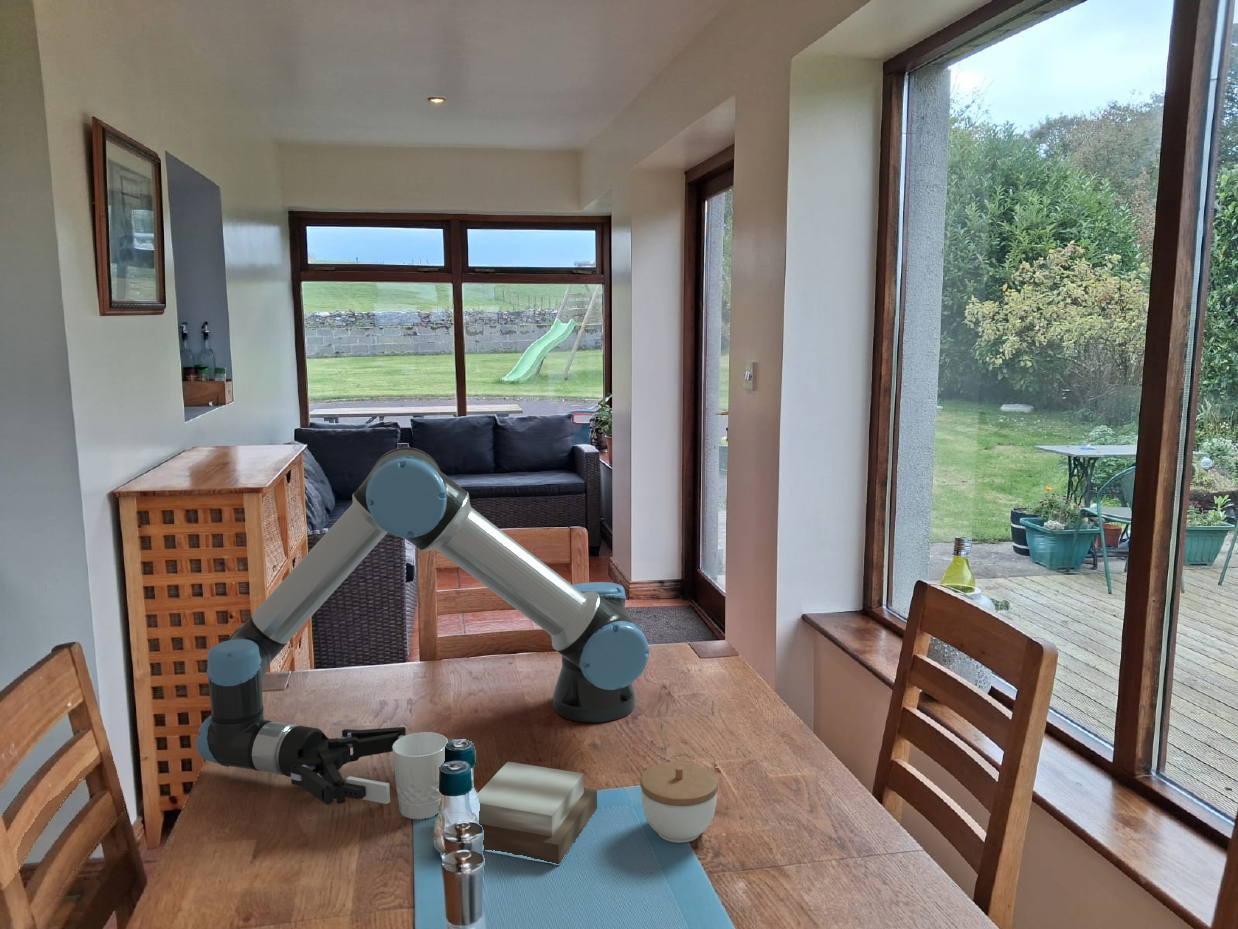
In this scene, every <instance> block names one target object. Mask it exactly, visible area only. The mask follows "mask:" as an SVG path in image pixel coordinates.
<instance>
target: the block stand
mask: <svg viewBox="0 0 1238 929" xmlns="http://www.w3.org/2000/svg"><path fill="white" fill-rule="evenodd" d="M584 776H585V773H583V772H575V771H569V770H564V769H557V768H550V767H545V766H539V765H538V766H537V765H532V764H525V763H519V762H513V761H507V762H506V763H505V764H504V765H503V766H502V767H501V768H500V769H499V770H498V771H497V772H496V773H495V774H494V776H492V778H490V779H489V781H488V782H487V783H486V784H485V785H484V786H483V787H482V788H481V789H480V791H479V792H477V794H478V796H479V803H480V811H479V824H480V825H482V827H483V830H484V840H483V845H484V851H485V850H492V851H493V850H495V851H501V852H507V853H512V854H514V855H523V856H527V857H531V858H534V859H540V860H544V861H547V862H552V863H556V864H559V863H560V862H561V860H562V859H563V857H564V855H565V854H566V853H567V851H568V850H569V849H570V847H571V846H572V844H573V843H574V841H575V840H576V838H577V839H579V837H580V835H581V834H582V832H583V831H584V829H585V828H586V826H587V825H586V824H588V823H589V822H590V820H591V819H590V818H592V817H593V816H592V815H594V814H595V813H596V811H597V810H598V789H597V788H589V787H585V785H584V778H585V777H584ZM596 809H597V810H596ZM594 812H595V813H594ZM589 819H590V820H589ZM588 821H589V822H588ZM587 822H588V823H587ZM585 825H586V826H585ZM584 827H585V828H584ZM583 828H584V829H583ZM582 830H583V831H582ZM580 833H581V834H580ZM579 834H580V835H579ZM578 836H579V837H578ZM576 841H577V840H576ZM576 841H575V842H576ZM574 844H575V843H574ZM574 844H573V845H574ZM572 847H573V846H572ZM572 847H571V848H572ZM570 850H571V849H570ZM570 850H569V851H570ZM567 854H568V853H567ZM563 860H564V859H563ZM561 863H562V862H561Z"/></svg>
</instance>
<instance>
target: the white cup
mask: <svg viewBox="0 0 1238 929" xmlns="http://www.w3.org/2000/svg"><path fill="white" fill-rule="evenodd" d="M447 743H448V744H449V740H448V738H447V737H446V736H445V735H443V734H442V733H441V734H440V733H437V732H433V731H432V732H431V731H422V732H414V733H409V734H406V736H403V737H401V738H399V739H398V740H397V741H395V742H394V744H393V746H392V749H393V751H392V756H393V757H392V758H393V759H392V760H393V767H394V777H395V784H396V785H395V786H396V787H395V788H396V789H395V790H396V794H397V801H398V811H399V812H400V814H401V815H402V817H405V818H407V819H410V820H425V818H426V819H430V818H433V817H436V816H437V815H436V813H437V811H438V807H439V805H440V801H441V796H440V794H439V788H438V787H439V767H440V766H441V765H442V763H444V761H445V746H446V744H447ZM435 815H436V816H435Z"/></svg>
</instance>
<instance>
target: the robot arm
mask: <svg viewBox="0 0 1238 929" xmlns="http://www.w3.org/2000/svg"><path fill="white" fill-rule="evenodd" d="M351 499H352V504H351V505H350V506H349V507H348V508H347V509H346V510H345V511H344V512H343V514H341V516H340V517H339V518H338V519H337V520H336V521H335V522H334V524H333V525H332V526H331V527H330V528H329V529H328V531H327V532H326V533H325V534H324V535H323V536H321V538H320V539H319V540H318V541H317V543H316V544H315V545H314V546H312V548H311V549H310V550H309V551H308V552H307V554H306V555H305V556H304V557H303V558H302V559H301V560H300V561H299V563H298V564H297V565H296V566H295V567H294V568H293V569H292V570H291V571H290V572H289V573H288V575H287V576H285V578H284V579H283V580H282V581H281V582H280V584H278V585H277V587H276V588H275V589H274V590H273V591H272V592H271V594H270V595H269V596H268V597H267V598H266V599H265V600H264V601H263V602H262V603H261V604H260V605H259V607H258V608H257V609H256V610H255V611H254V612H253V614H252V615H251V616H250V617H249V618H248V619H247V621H245V623H243V624H242V625H241V626H239V627H238V628H237V629H236V630H235V631H233V633H232V634H231V636H229V638H228V640H226V641H221V642H219V643H217V644H215V645H213V646H211V648H210V649H209V650H208V652H207V656H206V657H207V667H206V675H207V678H208V689H209V699H210V700H209V702H210V711H211V714H210V715H209V716H207V717H206V718H205V719H204V721H202V723H201V724H200V727H199V728H198V733H199V734H198V737H196V739H195V740H196V741H195V744H196V745H195V746H196V750H197V753H198V754H199V756H200V757H201V758H202V759H203V760H205V761H206V762H211V763H215V764H218V765H220V766H223V767H226V768H227V767H234V768H240V769H247V770H251V771H253V770H254V771H257V772H263V773H268V774H269V773H270V774H274V775H276V776H277V775H280V776H285V777H288V778H289V777H290V779H291V781H290V782H291V785H294V786H298V787H302V788H303V789H304V790H306V791H307V792H308V793H309V794H311V795H312V796H314V798H316V799H318V800H319V801H320V802H322V803H323V804H325V805H328V806H329V805H331V804H333V803H334V800H335V799H336V802H335V803H336V804H338V805H342V804H344V803H345V802H346V798H350V799H355V800H363V801H368V802H369V801H370V802H375V803H381V804H385V805H387V804H389V803H390V802H391V794H390V793H391V792H390V790H391V789H390V782H386V781H385V782H384V781H378V780H372V779H368V778H367V779H366V778H362V777H356V776H350V775H349V776H348V777H346V779H344V778H343V776H342V774H341V773H340V771H339V770H340V769H342V767H343V766H344V765H346V764H348V763H351V762H357V761H359V759H360V758H362V757H368V756H374V755H380V754H386V753H390V752H392V753H393V749H392V746H393V744H394V742H395V741H397V740H398V739H399V738H401V737H403V736H406V735H407V734H406V732H407V731H406V727H405V726H398V727H384V728H369V729H368V728H367V729H353V728H352V729H351V728H350V729H349V728H345V729H342V731H341V737H335V738H329V737H327V735H326V734H325V733H324V732H323V731H322V729H320V728H319V727H318V728H317V727H313V726H306V725H297V724H293V723H286V722H279V721H278V722H277V721H272V720H269V719H265V717H264V716H265V714H264V701H263V700H264V699H263V680H264V678H265V676H266V673H267V671H268V669H269V666H270V664H271V663H272V662H273V660H274V659H276V657H277V656H278V655H279V654H280V652H281V651H282V650H283V649H284V648H285V647H286V645H287V644H288V643H289V642H290V640H291V639H293V637H294V636H295V635H296V634H297V633H298V632H299V631H300V630H301V628H302V627H303V626H304V625H305V624H306V623H307V622H308V621H309V620H310V619H311V617H313V615H314V614H315V613H316V612H317V611H318V610H319V609H320V608H321V606H322V605H323V604H324V603H325V602H326V601H327V600H328V599H329V598H330V596H332V595H333V593H334V592H335V591H336V590H337V589H338V588H339V587H340V585H341V584H343V582H344V581H345V580H346V579H347V578H348V577H349V576H350V575H351V574H352V572H353V571H355V569H356V568H357V567H358V565H359V564H361V563H362V561H363V560H364V559H365V558H366V557H367V556H368V555H369V554H370V553H371V551H372V550H373V549H374V548H375V547H376V546H377V545H378V544H379V542H381V540H382V539H383V538H385V536H386V535H387V534H391V535H393V536H395V537H399V538H404V539H405V540H407V541H408V542H409V543H410V544H411V545H413V546H414V547H416V548H418V549H419V550H420V551H422V552H430V551H438V552H439V553H440V554H441V555H443V556H445V557H446V558H447V559H449V560H450V561H452V563H454V564H455V565H456V566H458V567H459V568H460V569H462V570H463V571H465V573H467V574H469V575H470V576H471V577H472V578H474V579H475V580H476V581H477V582H480V584H482V585H483V586H484V587H486V588H488V589H489V590H490V591H491V592H493V593H494V594H495V595H497V596H498V597H499V598H501V599H502V600H503V601H505V602H506V603H507V604H509V605H510V606H511V607H513V608H514V609H516V610H517V611H518V612H520V613H521V614H522V615H523V616H525V617H526V618H527V619H529V620H530V621H532V622H533V623H534V624H536V625H537V626H538V627H540V628H541V629H542V630H543V631H545V632H546V633H547V634H549V635H550V636H551V645H552V646H551V647H552V648H553V649H554V650H555V651H556V652H557V653H559V654H560V655H561V669H560V672H559V675H558V677H557V678H558V679H557V680H556V685H555V687H554V691H553V695H552V707H553V710H554V712H555V713H556V714H558V715H559V716H561V717H563V718H565V719H568V720H571V721H575V722H581V723H605V722H609V721H611V722H612V721H615V720H619V719H622V718H623V717H626V716H627V715H630V713H631V712H633V710H635V707H636V694H635V691H634V687H633V684H632V683H634V682H635V681H636V680H637V679H639V678H640V677H641V675H642V674H643V673H644V670H646V667H647V665H648V662H649V658H650V657H649V656H650V648H649V643H648V640H647V638H646V637H647V636H646V635H645V632H644V630H643V629H642V627H640V626H638V624H637V623H636V622H635V621H634V619H633V617H631V615H630V614H629V612H628V611H626V599H627V596H626V591H625V588H624V587H623V585H621V584H619V583H614V582H602V581H601V582H600V581H599V582H583V583H575V584H571V583H570V582H569V581H567V579H565V578H564V577H562V576H561V575H560V574H558V573H557V572H556V571H555V570H553V569H552V568H551V567H549V566H548V565H547V564H545V563H544V562H543V561H541V559H539V558H538V557H537V556H535V555H534V554H532V553H531V552H530V551H529V550H527V549H526V548H525V547H523V546H522V545H521V544H519V543H518V542H517V541H516V540H514V539H513V538H512V537H510V535H508V534H507V533H505V532H504V531H502V529H500V528H499V527H498V526H496V525H495V524H494V523H492V522H491V521H490V520H488V519H487V518H486V517H484V515H482V514H481V513H479V512H478V511H477V510H475V509H474V508H473V507H472V506H471V503H470V493H469V492H468V491H467V490H465V488H462V487H461V486H460V485H459V484H458V483H457V482H455V481H454V480H453V479H451V478H450V477H449V476H447V475H446V474H445V473H443V472H442V471H441V469H440V467H439V465H438V463H437V462H436V460H435V459H434V458H433V457H432V456H431V455H429V453H426V452H425V451H423V450H422V449H418V448H415V447H409V446H407V447H406V446H405V447H398V448H394V449H392V450H389V451H387V452H385V453H384V454H383V455H381V457H380V458H379V459H378V460H377V461H376V462H375V464H374V466H373V467H372V469H371V471H370V472H369V474H368V475H367V477H366V478H365V479H364V480H363V482H362V483H361V485H359V487H358V488H357V489H356V490H355V491H354V492H353V493H352V498H351ZM351 749H352V754H351Z"/></svg>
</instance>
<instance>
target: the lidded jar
mask: <svg viewBox="0 0 1238 929" xmlns="http://www.w3.org/2000/svg"><path fill="white" fill-rule="evenodd" d="M718 780H719V779H718V777H717V776H716V774H715V773H714V772H713V771H711V769H709V768H708V767H705V766H703V765H700V764H697V763H693V762H687V761H668V762H667V761H666V762H660V763H657V764H655V765H651V766H650V767H649V768H647V769H646V770H645V771H643V773H642V775H641V777H640V789H641V792H640V793H641V806H642V809H643V813H644V817H645V819H646V821H647V823H648V824H649V825H650V827H651V828H652V829H653V830H654V831H655V832H656V833H657V835H658V836H659V837H660V838H661V839H663V841H664V840H665V841H667V842H670V843H675V844H684V843H685V844H686V843H689V842H692V841H693V842H694V841H695V840H696V839H698V838H699V837H700V835H701V834H702V833H704V831H706V830H707V828H709V826H710V824H711V823H712V821H713V818H714V816H715V813H716V808H717V799H718V788H719V781H718Z"/></svg>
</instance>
